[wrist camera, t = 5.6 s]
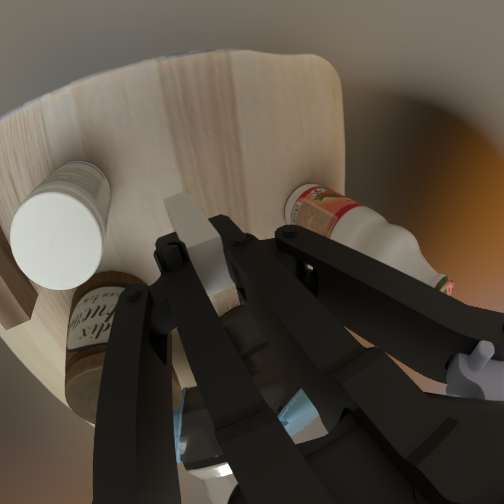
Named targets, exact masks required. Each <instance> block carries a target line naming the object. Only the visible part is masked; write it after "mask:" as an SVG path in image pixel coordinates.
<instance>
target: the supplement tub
mask: <svg viewBox="0 0 504 504" xmlns="http://www.w3.org/2000/svg"><path fill="white" fill-rule="evenodd" d="M110 200H111V191H110V186H109V183H108V180H107V178H106V177H105V175H104V174H103V173H102V171H101V170H99V169H98V168H97V167H96V166H94V165H93V164H91V163H88V162H84V161H73V162H69V163H66V164H64V165H62V166H61V167H59V168H58V169H57V170H56V171H54V172H53V173H52V174H51V175H50V176H49V177H47V178H46V179H45V180H44V181H43V182H42V183H41V184H40V185H39V186H38V187H36V188H35V189H34V190H33V191H32V192H31V193H30V194H29V195H28V196H27V197H26V199H25V200H24V201H23V203H22V204H21V206H20V208H19V209H18V211H17V212H16V214H15V216H14V219H13V221H12V225H11V231H10V244H11V249H12V253H13V256H14V258H15V260H16V262H17V264H18V266H19V267H20V269H21V270H22V271H23V273H24V274H25V275H26V276H27V277H28V278H29V279H31V280H32V281H34V282H35V283H37V284H39V285H41V286H43V287H45V288H49V289H54V290H67V289H71V288H75V287H77V286H79V285H81V284H83V283H84V282H86V281H87V280H88V279H89V278H90V277H91V276H92V275H93V274H94V272H95V271H96V269H97V267H98V265H99V263H100V260H101V257H102V254H103V251H104V246H105V237H106V229H107V221H108V214H109V208H110Z"/></svg>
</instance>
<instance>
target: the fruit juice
mask: <svg viewBox="0 0 504 504" xmlns="http://www.w3.org/2000/svg"><path fill="white" fill-rule="evenodd" d="M285 220H286V223H287V225H289V224H291V225H299V226H302V227H304V228H307V229H309V230H311V231H314V232H316V233H318V234H321V235H323V236H325V237H327V238H330V239H332V240H334V241H336V242H339V243H341V244H343V245H345V246H348V247H350V248H352V249H354V250H357V251H359V252H361V253H363V254H365V255H367V256H370V257H372V258H374V259H376V260H378V261H380V262H382V263H385V264H387V265H389V266H391V267H393V268H395V269H397V270H399V271H401V272H403V273H405V274H407V275H409V276H411V277H414V278H416V279H418V280H420V281H422V282H424V283H426V284H428V285H430V286H432V287H434V288H435V289H437V290H439V291H441V292H443V293H445V294H447V295H449V296H450V294H451V292H452V289H453V285H454V282H453V281H452V279H451V278H449V277H448V276H446V275H444V274H439V273H437V272H436V271H435V270H434V269H433V268H432V267H431V266H430V265H429V264H428V263H427V261H426V260H425V259H424V257H423V256H422V254H421V251H420V248H419V245H418V242H417V240H416V239H415V237H414V236H413V235H412V234H411V233H410V232H409V231H407V230H406V229H404V228H402V227H400V226H396V225H391V224H388V223H387V221H386V220H385V219H384V218H383V217H382V216H381V215H379V214H378V213H376V212H375V211H373V210H371V209H370V208H367V207H365V206H363V205H361V204H359V203H357V202H355V201H353V200H351V199H349V198H347V197H345V196H343V195H341V194H338V193H336V192H334V191H332V190H330V189H328V188H325V187H323V186H321V185H318V184H305V185H303V186H300V187H299V188H297V189H296V190H295V191H294V192H293V193H292V194H291V196H290V197H289V199H288V201H287V203H286V206H285Z"/></svg>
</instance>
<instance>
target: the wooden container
mask: <svg viewBox="0 0 504 504" xmlns="http://www.w3.org/2000/svg"><path fill="white" fill-rule="evenodd" d="M140 283H141V284H145V283H144V282H143V281H141V280H140V279H138V278H136V277H134V276H132V275H129V274H126V273H121V272H103V273H99V274H96V275H94V276H91V277H90V278H89V279H88V280H87V281H86V282H84V283H83V284H81V285H80V286H79V287H78V288H77V290H76V292H75V294H74V297H73V300H72V306H71V311H70V316H69V323H68V332H67V345H66V364H65V397H66V401H67V403H68V405H69V407H70V408H71V409H72V410H73V411H74V412H75V413H76V414H77V415H78V416H80V417H81V418H83V419H84V420H86V421H88V422H90V423H93V424H95V423H96V413H97V404H98V396H99V389H100V382H101V376H102V370H103V364H104V359H105V354H106V348H107V343H108V339H109V334H110V330H111V325H112V321H113V317H114V313H115V309H116V305H117V301H118V298H119V295H120V294H121V292H122V291H123V290H124V289H126V288H127V287H129V286H131V285H134V284H140ZM145 285H146V284H145ZM146 286H147V285H146ZM147 287H148V286H147ZM172 399H173V413H174V412H175V411H176V410H177V409H178V408H179V406H180V404H181V401H182V391H181V387H180V384H179V381H178V378H177V375H176V373H175V370H174V368H173V365H172Z"/></svg>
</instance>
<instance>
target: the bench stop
mask: <svg viewBox="0 0 504 504" xmlns="http://www.w3.org/2000/svg"><path fill="white" fill-rule="evenodd" d="M37 297H38V294H37V292H36V291H35V289H34V288H33V286H32V285H31V283H30V281H29V280H28V278H27V276H26V275H25V274H24V273H23V271H22V270H21V269H20V267H19V266H18V264H17V262H16V260H15V258H14V256H13V253H12V250H11V248H10V246H9V244H8V242H7V240H6V238H5V236H4V234H3V232H2V229H1V227H0V323H1V324H2V326H3V327H4V328H5V330H8V329H10V328H12V327H15V326H17V325H19V324H21V323H24V322H26V321H28V320H30V319H31V316H32V312H33V309H34V306H35V303H36V300H37Z"/></svg>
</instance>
